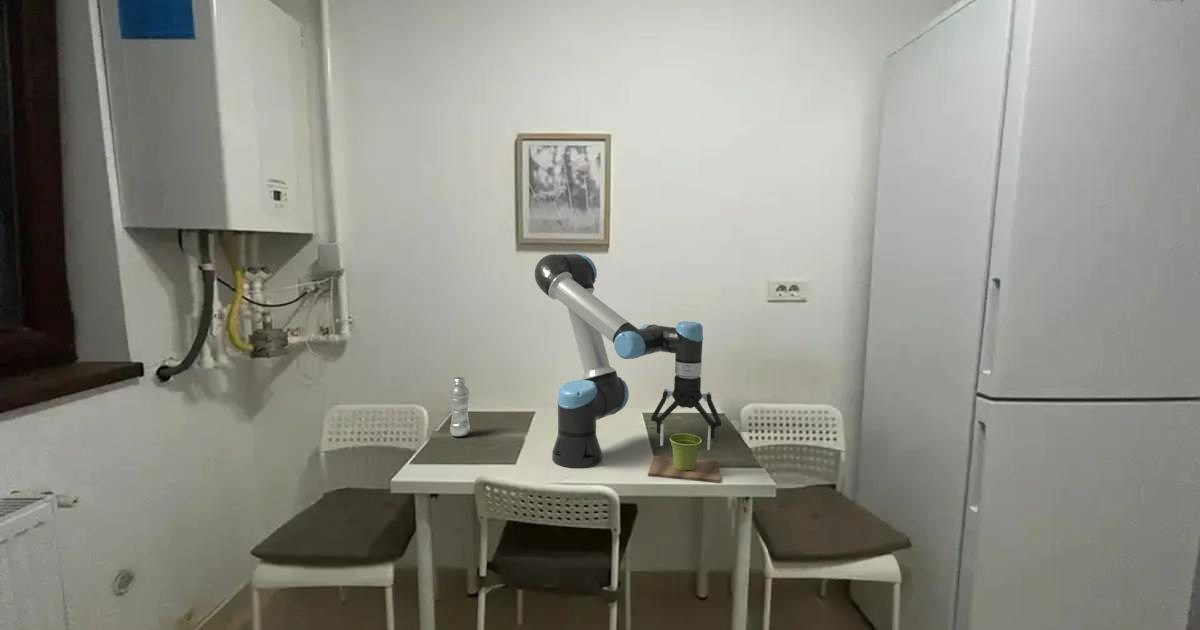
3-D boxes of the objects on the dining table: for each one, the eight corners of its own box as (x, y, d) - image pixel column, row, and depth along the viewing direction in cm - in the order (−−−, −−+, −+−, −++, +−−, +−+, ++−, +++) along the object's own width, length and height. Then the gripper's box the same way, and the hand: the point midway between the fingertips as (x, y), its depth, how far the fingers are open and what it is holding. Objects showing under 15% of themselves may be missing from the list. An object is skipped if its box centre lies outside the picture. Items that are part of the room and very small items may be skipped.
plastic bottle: (446, 437, 192) (445, 379, 190) (457, 431, 199) (456, 375, 196) (463, 439, 191) (462, 381, 188) (473, 433, 197) (472, 376, 195)
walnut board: (647, 475, 163) (648, 473, 162) (653, 458, 176) (653, 455, 176) (719, 482, 158) (719, 480, 158) (719, 464, 172) (719, 461, 172)
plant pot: (705, 465, 169) (706, 437, 168) (693, 476, 161) (694, 446, 160) (676, 458, 174) (677, 431, 173) (663, 469, 166) (664, 440, 164)
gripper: (643, 375, 163) (640, 446, 165) (732, 381, 158) (728, 455, 160) (646, 369, 170) (644, 438, 173) (732, 375, 165) (728, 445, 168)
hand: (684, 446), depth 167 cm, fingers open, 13 cm apart
